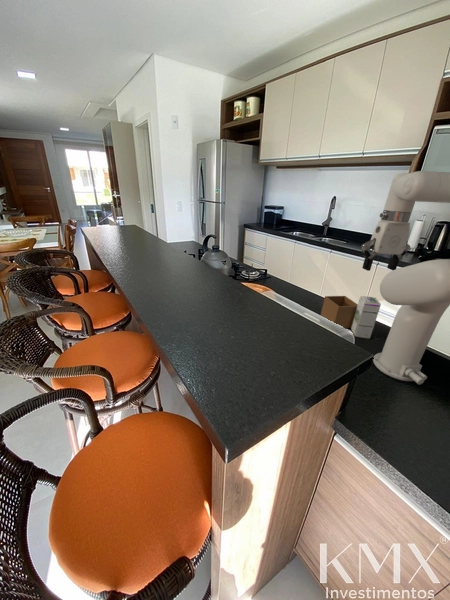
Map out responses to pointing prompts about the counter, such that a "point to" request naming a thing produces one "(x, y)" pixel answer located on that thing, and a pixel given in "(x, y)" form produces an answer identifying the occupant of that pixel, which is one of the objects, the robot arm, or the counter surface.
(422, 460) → the counter surface
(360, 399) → the counter surface
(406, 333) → the robot arm
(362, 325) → the syrup box
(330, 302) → the brown open bin
